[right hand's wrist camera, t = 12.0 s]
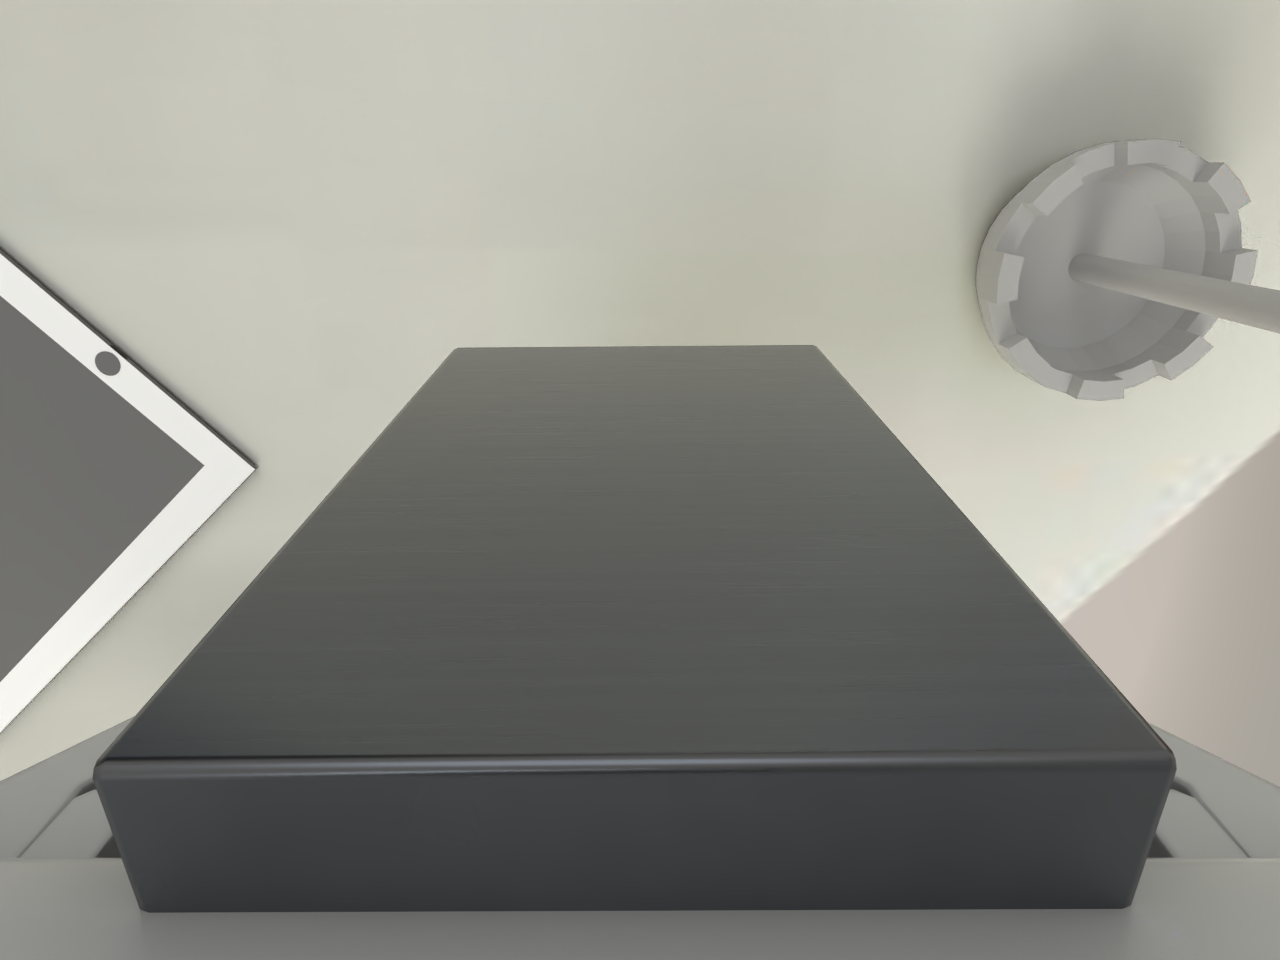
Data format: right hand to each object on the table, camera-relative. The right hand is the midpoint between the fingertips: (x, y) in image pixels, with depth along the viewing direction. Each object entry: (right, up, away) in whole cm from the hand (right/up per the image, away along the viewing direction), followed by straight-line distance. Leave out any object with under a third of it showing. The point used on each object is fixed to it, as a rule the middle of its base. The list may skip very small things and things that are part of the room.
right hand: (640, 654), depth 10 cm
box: (0, -7, +8) cm, 10 cm away
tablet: (-43, 0, +41) cm, 59 cm away
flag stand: (+25, +15, +35) cm, 46 cm away
